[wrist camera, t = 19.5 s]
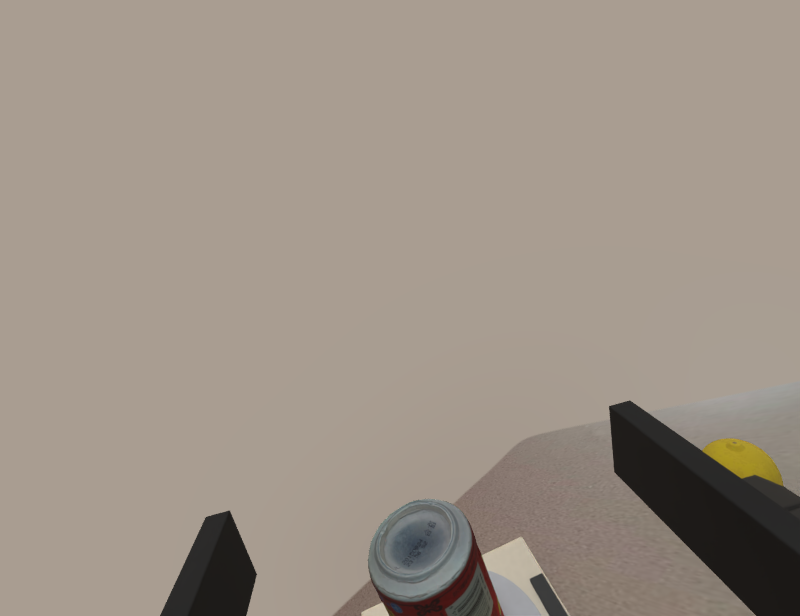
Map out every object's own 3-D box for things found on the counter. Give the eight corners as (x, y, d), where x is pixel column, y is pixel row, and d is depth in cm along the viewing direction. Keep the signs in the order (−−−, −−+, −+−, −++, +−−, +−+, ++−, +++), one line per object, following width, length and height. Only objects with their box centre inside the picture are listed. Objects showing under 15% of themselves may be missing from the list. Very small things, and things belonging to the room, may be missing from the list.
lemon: (791, 507, 33) (788, 432, 31) (777, 557, 30) (773, 479, 28) (711, 481, 38) (703, 414, 35) (692, 523, 35) (682, 452, 32)
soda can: (529, 626, 29) (485, 502, 25) (497, 747, 24) (435, 613, 20) (447, 591, 33) (399, 481, 29) (404, 687, 28) (340, 568, 24)
